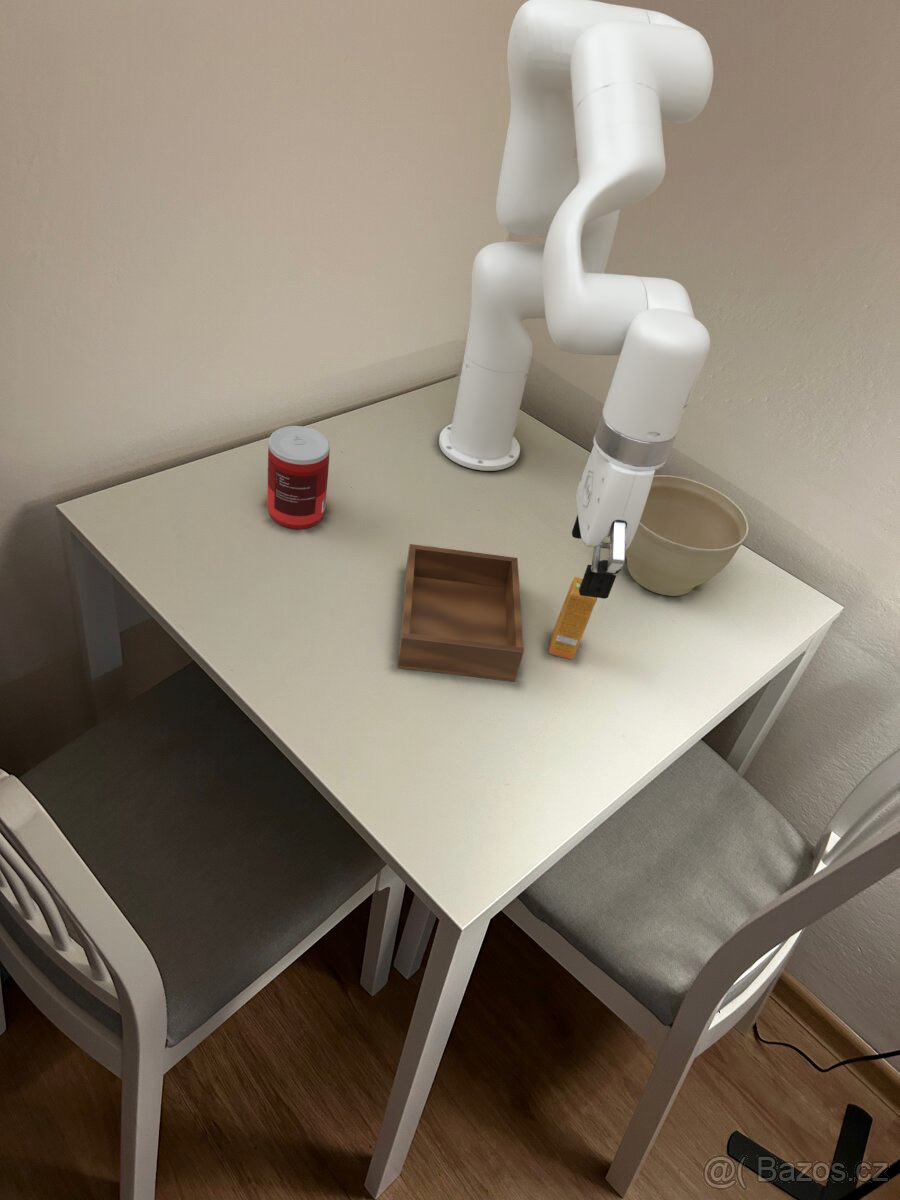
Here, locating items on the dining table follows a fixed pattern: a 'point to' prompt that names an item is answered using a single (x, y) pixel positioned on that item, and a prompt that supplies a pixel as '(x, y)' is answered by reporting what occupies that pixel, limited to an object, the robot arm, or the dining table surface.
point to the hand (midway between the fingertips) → (588, 565)
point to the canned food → (297, 476)
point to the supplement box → (571, 622)
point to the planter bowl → (684, 536)
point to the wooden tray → (461, 614)
